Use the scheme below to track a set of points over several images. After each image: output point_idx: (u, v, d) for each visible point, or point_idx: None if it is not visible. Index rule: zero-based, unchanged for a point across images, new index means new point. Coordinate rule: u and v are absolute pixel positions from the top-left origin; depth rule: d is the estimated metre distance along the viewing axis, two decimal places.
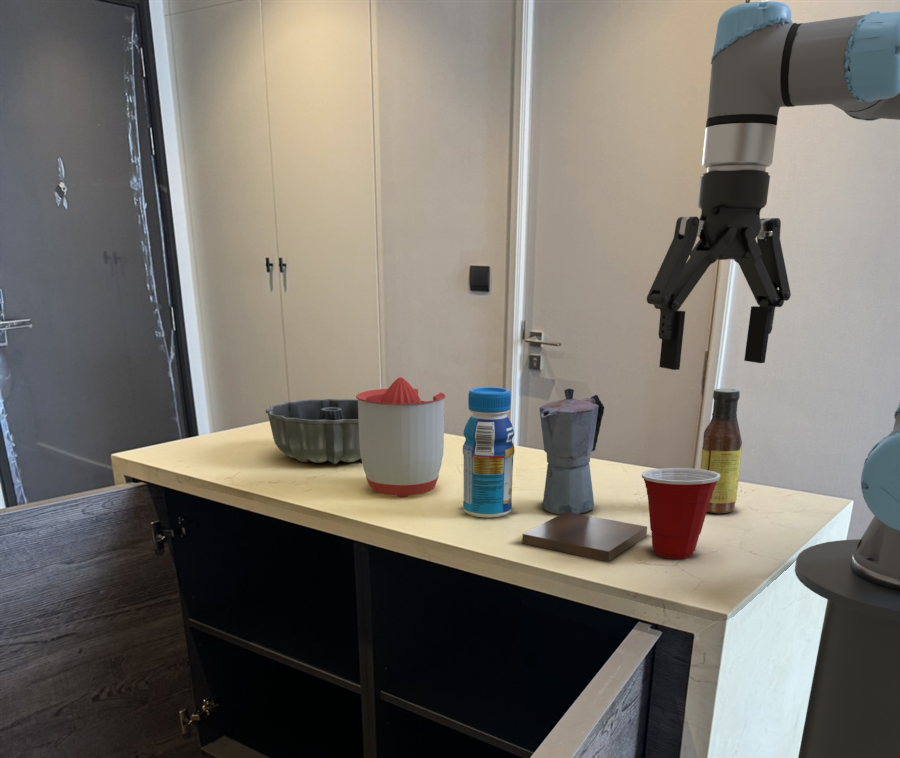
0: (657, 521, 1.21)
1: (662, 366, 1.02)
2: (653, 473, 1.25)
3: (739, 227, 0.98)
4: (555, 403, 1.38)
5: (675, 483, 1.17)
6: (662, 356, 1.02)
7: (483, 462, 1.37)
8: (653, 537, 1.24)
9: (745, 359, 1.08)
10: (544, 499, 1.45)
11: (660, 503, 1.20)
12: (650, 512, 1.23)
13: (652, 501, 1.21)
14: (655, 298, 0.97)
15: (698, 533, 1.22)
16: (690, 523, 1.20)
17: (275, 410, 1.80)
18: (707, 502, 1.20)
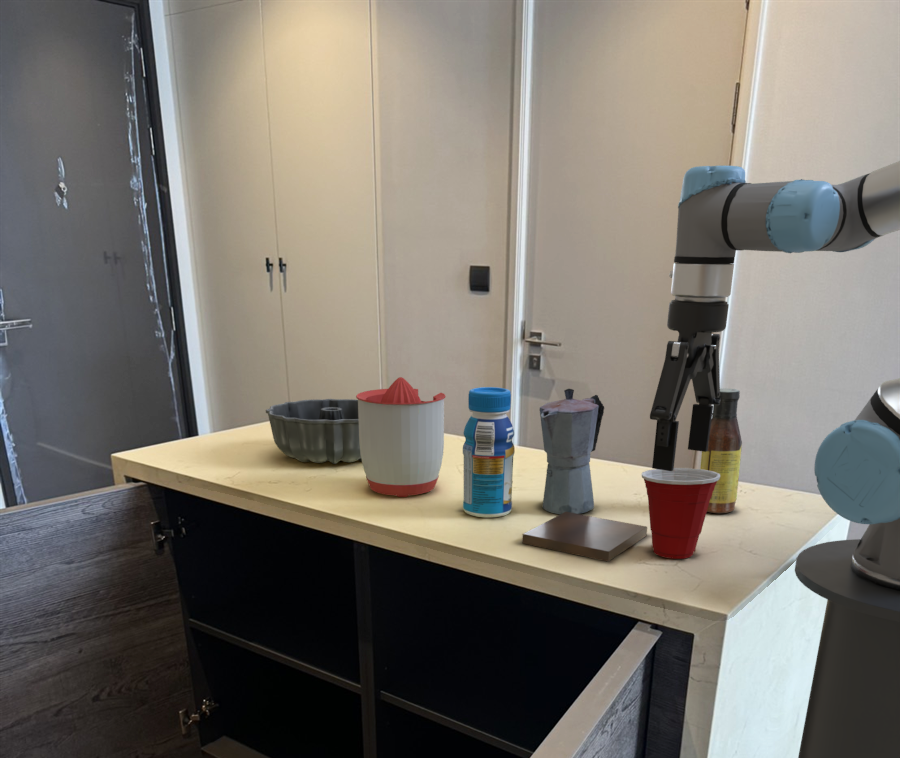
0: (657, 521, 1.21)
1: (656, 467, 1.15)
2: (653, 473, 1.25)
3: (703, 345, 1.14)
4: (555, 403, 1.38)
5: (675, 483, 1.17)
6: (655, 459, 1.15)
7: (483, 462, 1.37)
8: (653, 537, 1.24)
9: (689, 448, 1.26)
10: (544, 499, 1.45)
11: (660, 503, 1.20)
12: (650, 512, 1.23)
13: (652, 501, 1.21)
14: (661, 413, 1.10)
15: (698, 533, 1.22)
16: (690, 523, 1.20)
17: (275, 410, 1.80)
18: (707, 502, 1.20)
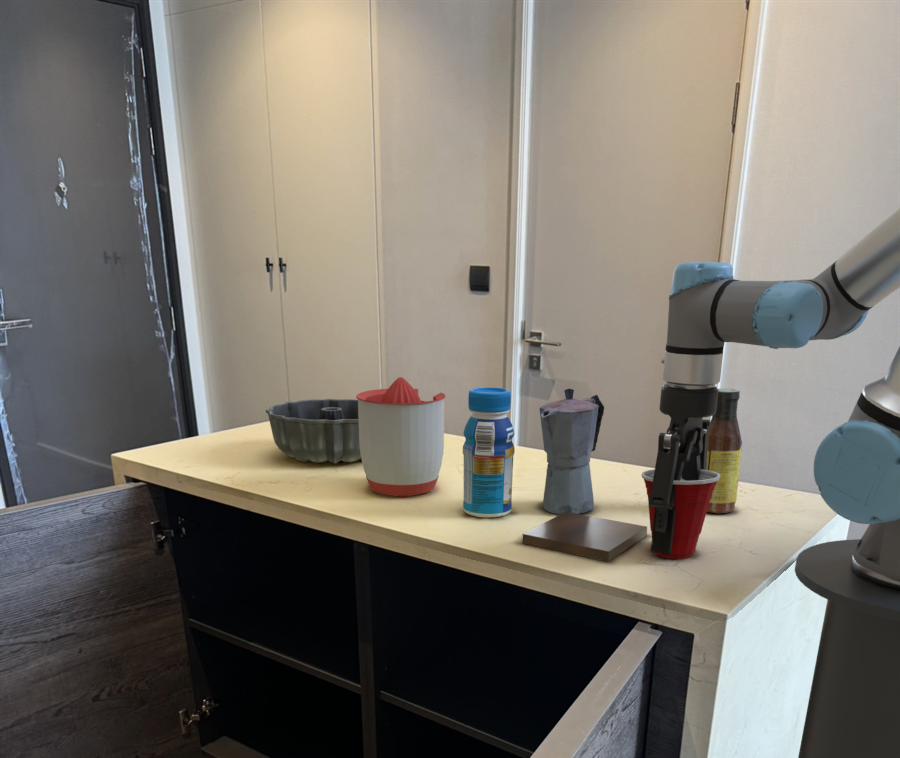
0: None
1: (654, 550, 1.22)
2: (653, 473, 1.25)
3: (695, 423, 1.18)
4: (555, 403, 1.38)
5: None
6: (654, 542, 1.21)
7: (483, 462, 1.37)
8: None
9: None
10: (544, 499, 1.45)
11: None
12: (650, 512, 1.23)
13: None
14: (659, 504, 1.16)
15: (698, 533, 1.22)
16: (690, 523, 1.20)
17: (275, 410, 1.80)
18: (707, 502, 1.20)
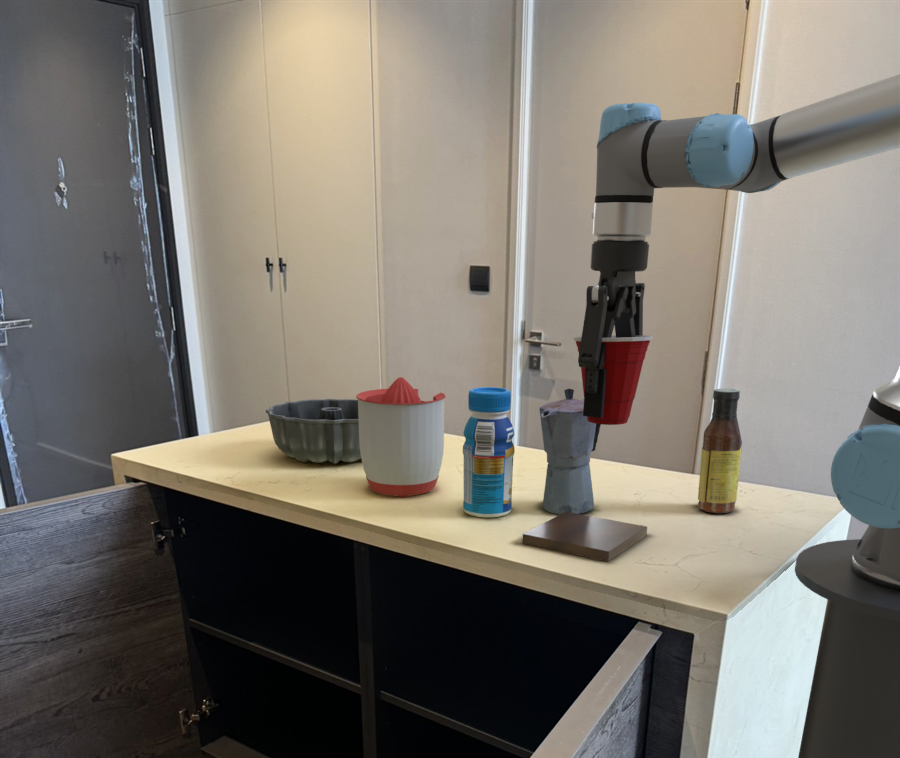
0: None
1: (586, 415, 1.19)
2: None
3: (626, 281, 1.16)
4: (555, 403, 1.38)
5: (605, 341, 1.14)
6: (586, 406, 1.19)
7: (483, 462, 1.37)
8: None
9: None
10: (544, 499, 1.45)
11: None
12: (583, 377, 1.20)
13: None
14: (588, 361, 1.13)
15: (631, 398, 1.19)
16: (622, 385, 1.17)
17: (275, 410, 1.80)
18: (639, 364, 1.17)
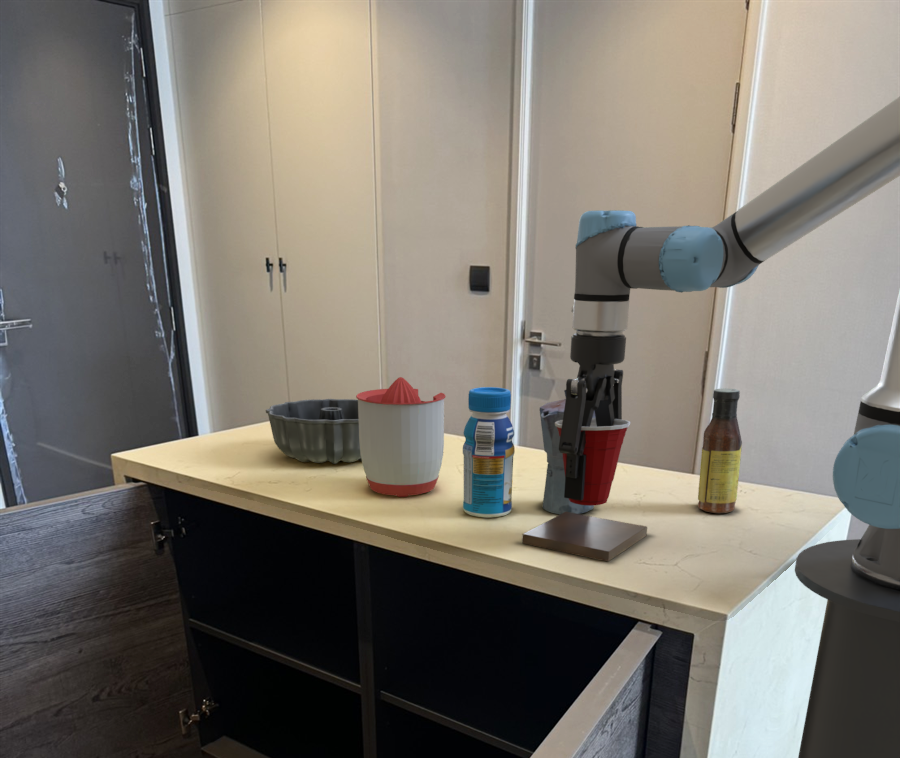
0: None
1: (567, 497, 1.24)
2: None
3: (605, 371, 1.21)
4: (555, 403, 1.38)
5: (584, 429, 1.20)
6: (567, 489, 1.24)
7: (483, 462, 1.37)
8: None
9: None
10: (544, 499, 1.45)
11: None
12: (564, 460, 1.26)
13: None
14: (568, 449, 1.19)
15: (610, 480, 1.25)
16: (601, 470, 1.23)
17: (275, 410, 1.80)
18: (617, 449, 1.23)
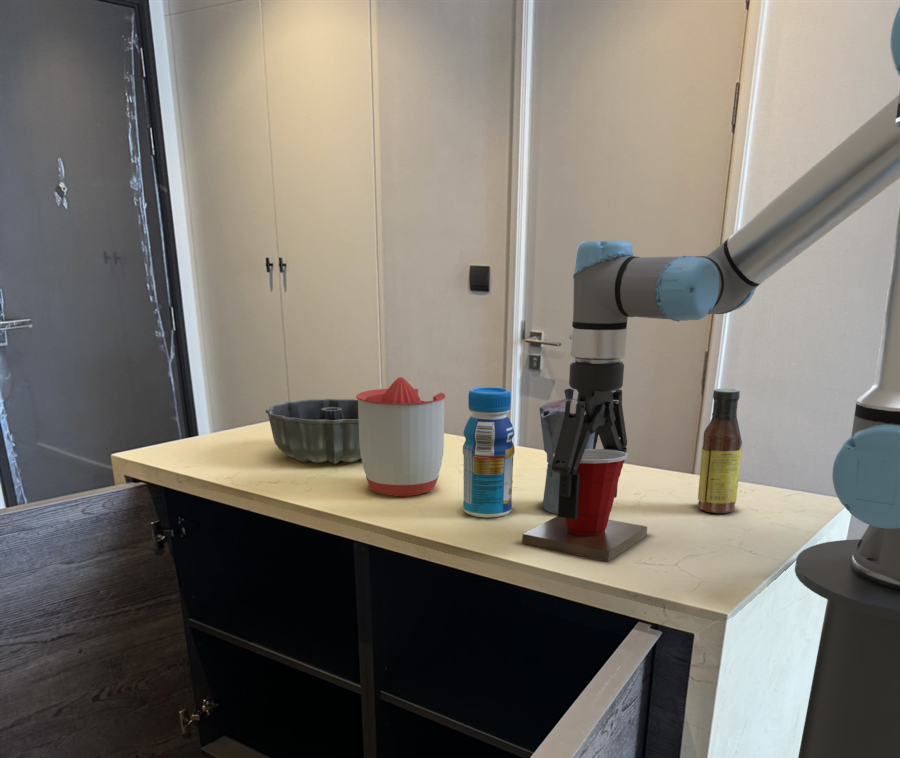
0: None
1: (561, 516, 1.24)
2: None
3: (603, 402, 1.23)
4: (555, 403, 1.38)
5: (582, 462, 1.21)
6: (560, 508, 1.23)
7: (483, 462, 1.37)
8: None
9: None
10: (544, 499, 1.45)
11: None
12: None
13: None
14: (561, 467, 1.18)
15: (608, 511, 1.27)
16: (598, 501, 1.25)
17: (275, 410, 1.80)
18: (615, 481, 1.25)
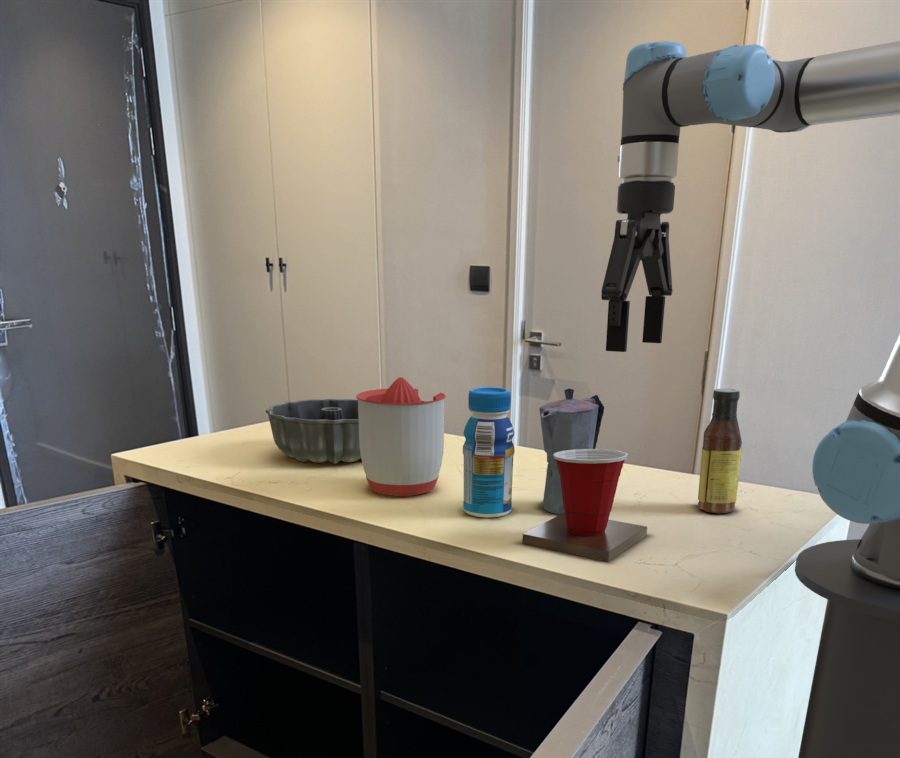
0: (568, 499, 1.26)
1: (609, 350, 1.17)
2: (566, 453, 1.30)
3: (652, 229, 1.17)
4: (555, 403, 1.38)
5: (582, 462, 1.21)
6: (608, 341, 1.17)
7: (483, 462, 1.37)
8: (566, 515, 1.29)
9: (643, 341, 1.28)
10: (544, 499, 1.45)
11: (569, 481, 1.24)
12: (562, 491, 1.27)
13: (563, 480, 1.26)
14: (612, 290, 1.12)
15: (608, 511, 1.27)
16: (598, 501, 1.25)
17: (275, 410, 1.80)
18: (615, 481, 1.25)
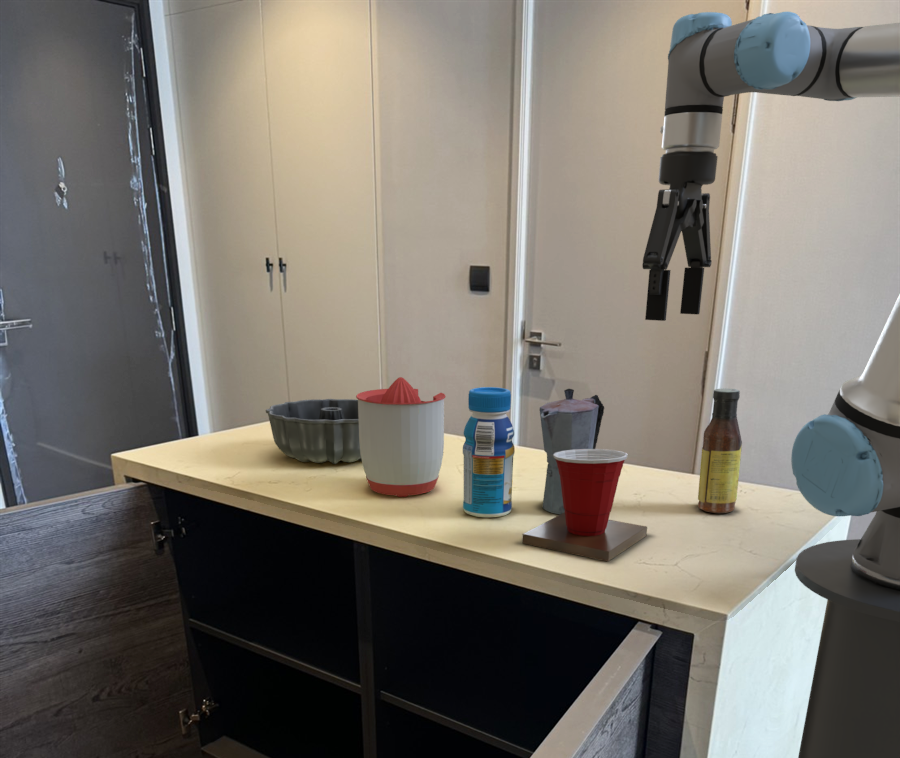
0: (568, 499, 1.26)
1: (649, 318, 1.20)
2: (566, 453, 1.30)
3: None
4: (555, 403, 1.38)
5: (582, 462, 1.21)
6: (648, 310, 1.19)
7: (483, 462, 1.37)
8: (566, 515, 1.29)
9: (681, 312, 1.30)
10: (544, 499, 1.45)
11: (569, 481, 1.24)
12: (562, 491, 1.27)
13: (563, 480, 1.26)
14: (653, 259, 1.14)
15: (608, 511, 1.27)
16: (598, 501, 1.25)
17: (275, 410, 1.80)
18: (615, 481, 1.25)
